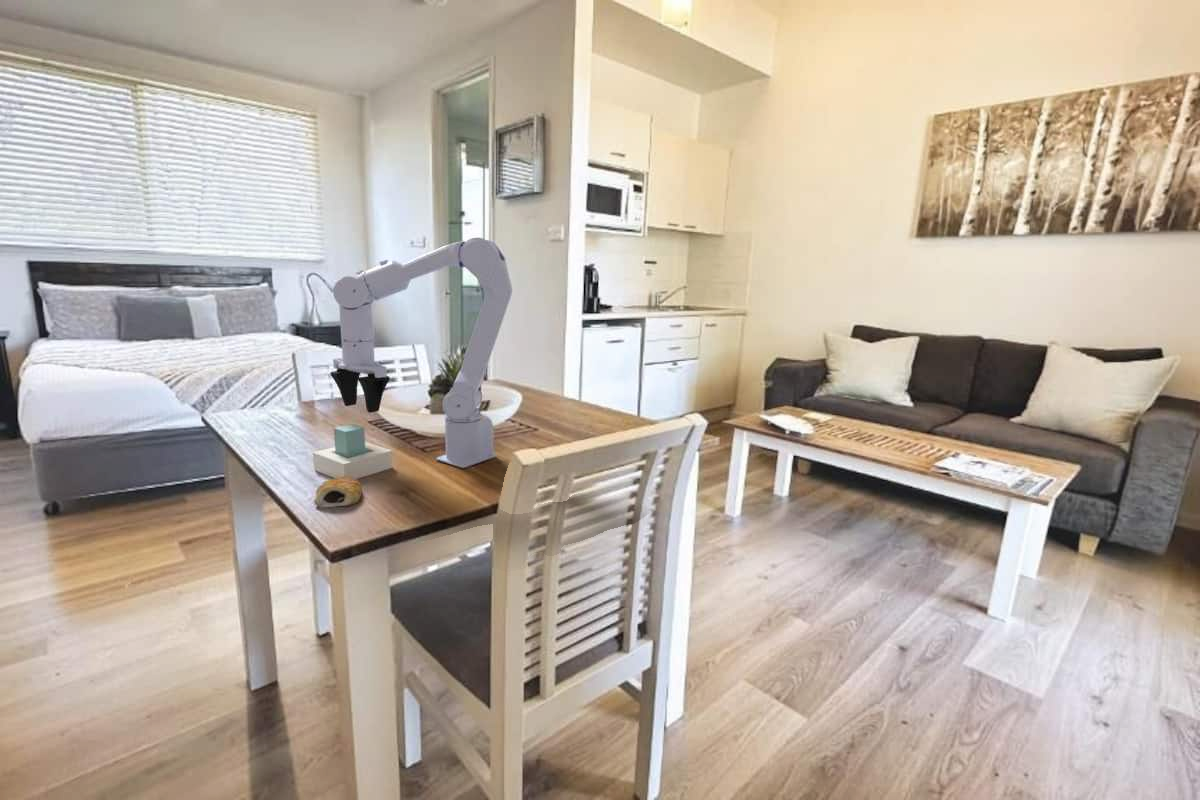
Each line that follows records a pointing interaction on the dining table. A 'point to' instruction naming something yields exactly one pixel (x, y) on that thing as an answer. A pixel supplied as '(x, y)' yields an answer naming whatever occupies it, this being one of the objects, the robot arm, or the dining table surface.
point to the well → (353, 462)
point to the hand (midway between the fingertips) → (361, 408)
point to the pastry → (338, 492)
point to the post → (349, 440)
